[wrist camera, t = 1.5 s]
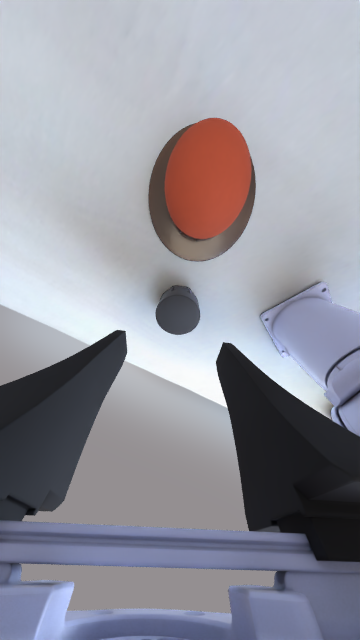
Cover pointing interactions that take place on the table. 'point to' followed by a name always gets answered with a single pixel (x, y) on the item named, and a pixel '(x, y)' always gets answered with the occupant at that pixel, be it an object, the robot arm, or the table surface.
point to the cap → (178, 310)
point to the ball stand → (168, 229)
